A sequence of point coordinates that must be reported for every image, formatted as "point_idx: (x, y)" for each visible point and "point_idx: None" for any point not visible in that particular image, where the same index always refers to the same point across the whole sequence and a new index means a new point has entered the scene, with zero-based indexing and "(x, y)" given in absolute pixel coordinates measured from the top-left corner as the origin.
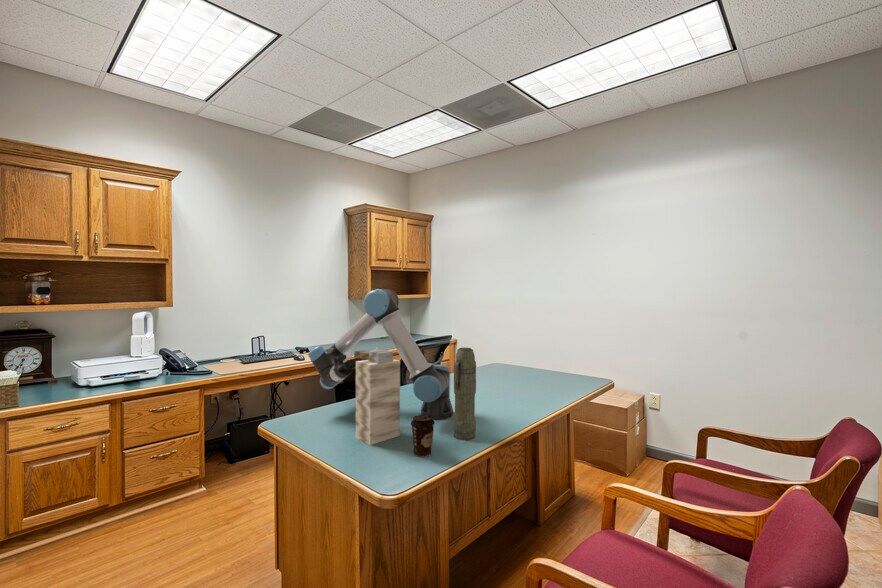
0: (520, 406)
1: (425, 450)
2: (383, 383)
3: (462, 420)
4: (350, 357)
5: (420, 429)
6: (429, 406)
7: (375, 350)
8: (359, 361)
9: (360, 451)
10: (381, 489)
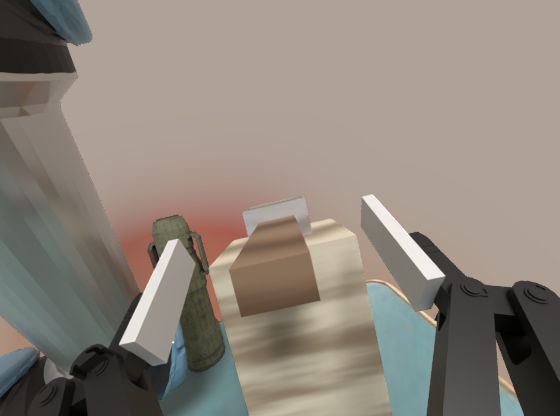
0: None
1: None
2: None
3: (215, 319)
4: (370, 239)
5: None
6: None
7: (176, 270)
8: (342, 234)
9: (399, 384)
10: (383, 288)
